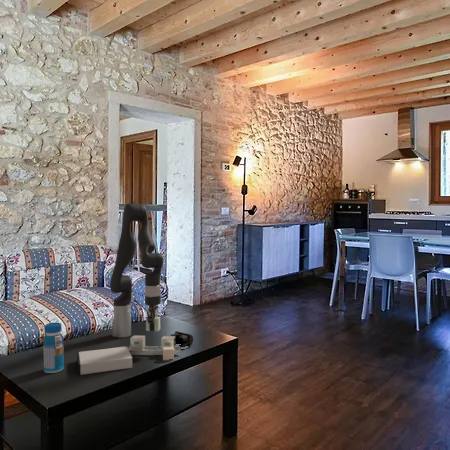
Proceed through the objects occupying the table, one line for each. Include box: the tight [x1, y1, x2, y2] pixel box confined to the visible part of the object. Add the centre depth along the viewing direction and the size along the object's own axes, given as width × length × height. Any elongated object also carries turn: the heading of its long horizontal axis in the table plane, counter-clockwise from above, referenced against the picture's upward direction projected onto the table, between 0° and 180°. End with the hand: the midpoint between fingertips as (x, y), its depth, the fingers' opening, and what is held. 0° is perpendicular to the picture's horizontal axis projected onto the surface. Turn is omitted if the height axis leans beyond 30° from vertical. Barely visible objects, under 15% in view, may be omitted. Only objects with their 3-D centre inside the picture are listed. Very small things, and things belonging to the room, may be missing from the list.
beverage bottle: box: [42, 322, 65, 374], centre depth 182 cm, size 8×8×20 cm
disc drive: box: [76, 346, 133, 376], centre depth 189 cm, size 18×22×5 cm
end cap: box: [169, 331, 194, 347], centre depth 213 cm, size 10×7×7 cm
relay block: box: [162, 347, 175, 361], centre depth 196 cm, size 5×4×5 cm
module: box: [145, 316, 161, 332], centre depth 203 cm, size 6×4×6 cm
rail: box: [127, 334, 182, 356], centre depth 203 cm, size 26×7×8 cm, turn 86°
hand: (153, 329), depth 203 cm, fingers closed on module, 4 cm apart
